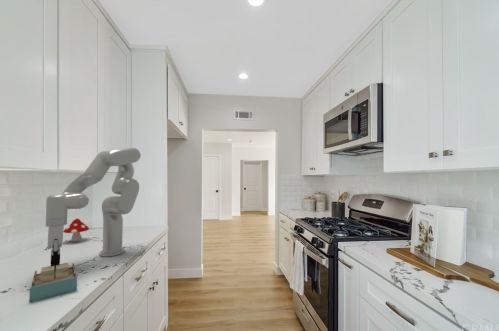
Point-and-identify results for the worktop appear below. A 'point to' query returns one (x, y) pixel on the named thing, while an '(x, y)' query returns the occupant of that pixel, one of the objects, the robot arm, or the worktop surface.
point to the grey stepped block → (54, 264)
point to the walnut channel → (37, 277)
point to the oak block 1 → (47, 274)
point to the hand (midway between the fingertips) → (55, 262)
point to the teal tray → (53, 289)
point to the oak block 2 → (62, 270)
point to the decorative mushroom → (76, 229)
